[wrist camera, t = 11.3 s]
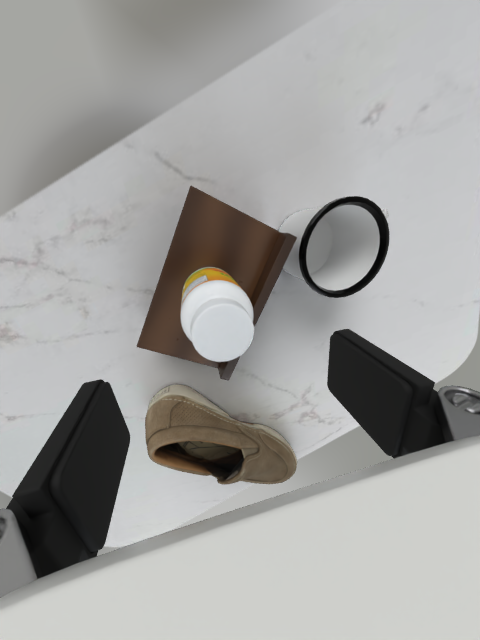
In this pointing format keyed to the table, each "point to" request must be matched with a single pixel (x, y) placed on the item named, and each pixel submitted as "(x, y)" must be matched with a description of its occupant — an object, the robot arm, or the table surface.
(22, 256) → the table surface
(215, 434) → the slip on shoe
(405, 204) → the table surface
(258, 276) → the shelf
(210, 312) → the supplement bottle
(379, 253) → the mug
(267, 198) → the table surface
